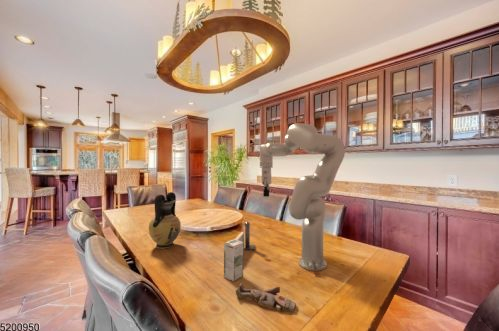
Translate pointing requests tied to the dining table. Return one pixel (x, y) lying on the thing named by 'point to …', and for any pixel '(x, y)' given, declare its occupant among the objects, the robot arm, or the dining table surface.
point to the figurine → (267, 298)
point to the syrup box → (233, 259)
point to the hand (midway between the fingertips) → (266, 196)
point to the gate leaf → (240, 238)
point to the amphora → (164, 221)
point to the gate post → (248, 238)
